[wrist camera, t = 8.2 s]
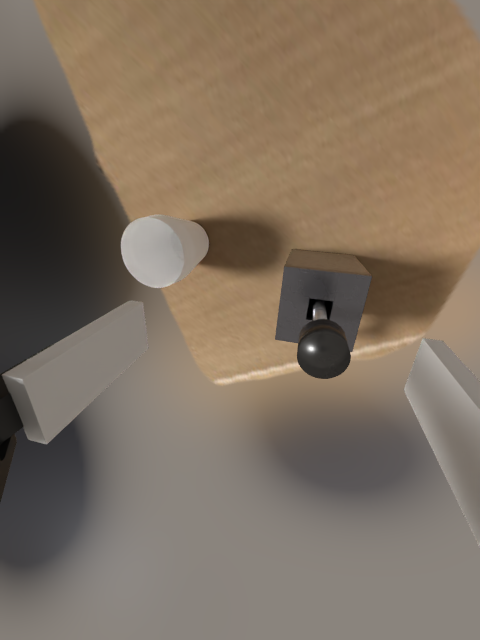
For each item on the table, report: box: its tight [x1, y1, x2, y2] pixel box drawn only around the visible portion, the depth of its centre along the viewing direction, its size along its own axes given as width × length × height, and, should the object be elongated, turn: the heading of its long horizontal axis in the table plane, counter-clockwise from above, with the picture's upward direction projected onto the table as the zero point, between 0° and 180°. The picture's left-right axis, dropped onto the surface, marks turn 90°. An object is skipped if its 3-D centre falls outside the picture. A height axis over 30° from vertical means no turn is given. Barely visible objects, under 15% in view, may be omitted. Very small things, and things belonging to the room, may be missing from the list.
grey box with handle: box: [275, 249, 372, 352], centre depth 37 cm, size 12×9×13 cm
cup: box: [121, 215, 209, 288], centre depth 39 cm, size 9×9×12 cm
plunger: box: [297, 298, 351, 379], centre depth 30 cm, size 6×6×20 cm
